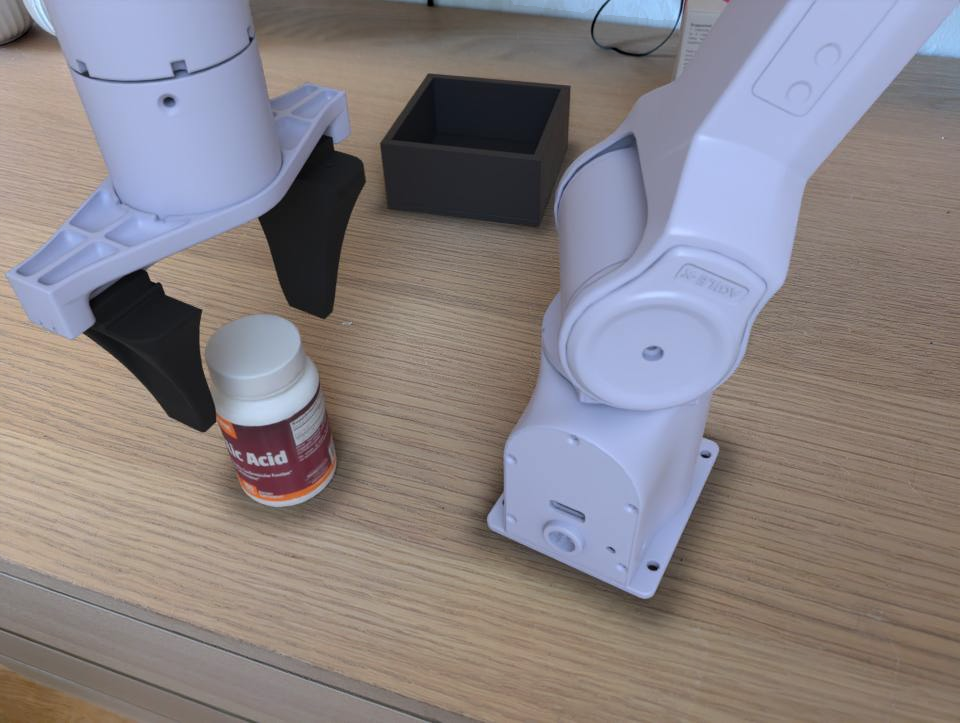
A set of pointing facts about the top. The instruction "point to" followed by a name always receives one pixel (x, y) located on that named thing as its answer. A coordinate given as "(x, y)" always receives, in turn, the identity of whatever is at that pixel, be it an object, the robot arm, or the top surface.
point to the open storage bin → (477, 148)
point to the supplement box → (695, 29)
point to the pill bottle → (270, 409)
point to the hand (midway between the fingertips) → (255, 360)
